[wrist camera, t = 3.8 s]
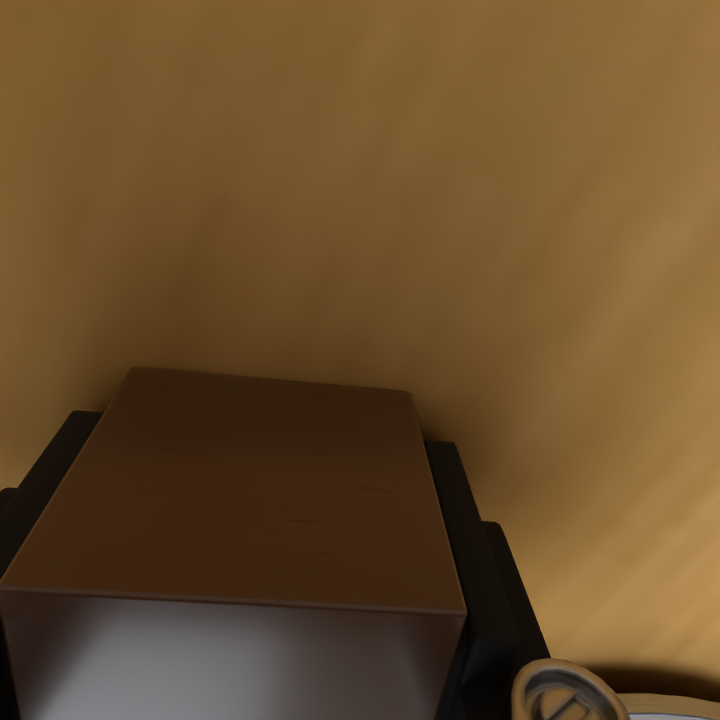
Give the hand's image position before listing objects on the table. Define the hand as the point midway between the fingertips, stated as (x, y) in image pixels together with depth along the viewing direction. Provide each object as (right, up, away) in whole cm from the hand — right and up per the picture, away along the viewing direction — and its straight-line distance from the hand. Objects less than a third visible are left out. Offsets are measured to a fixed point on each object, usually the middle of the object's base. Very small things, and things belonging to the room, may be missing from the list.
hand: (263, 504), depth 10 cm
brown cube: (0, 0, 0) cm, 0 cm away
